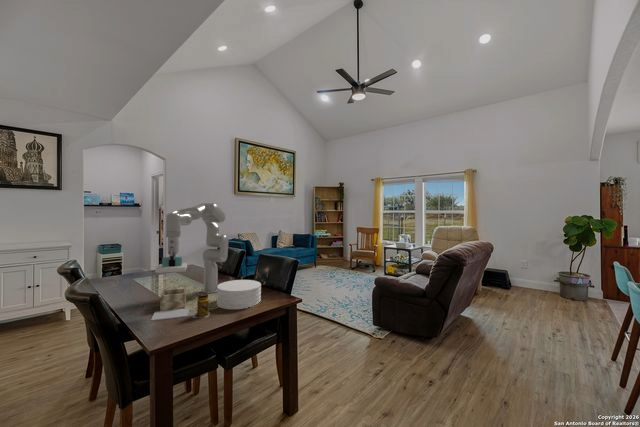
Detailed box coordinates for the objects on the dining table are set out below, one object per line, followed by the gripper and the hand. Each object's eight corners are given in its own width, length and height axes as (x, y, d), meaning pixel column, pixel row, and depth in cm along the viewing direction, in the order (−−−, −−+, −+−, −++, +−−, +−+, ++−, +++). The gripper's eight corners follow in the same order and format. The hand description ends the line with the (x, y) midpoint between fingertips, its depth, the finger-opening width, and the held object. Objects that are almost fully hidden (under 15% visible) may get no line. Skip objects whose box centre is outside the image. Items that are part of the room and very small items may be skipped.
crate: (185, 301, 179) (186, 288, 179) (184, 308, 167) (184, 293, 167) (163, 304, 174) (163, 290, 174) (160, 311, 162) (160, 295, 162)
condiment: (208, 317, 154) (208, 296, 154) (191, 318, 152) (192, 297, 152) (210, 312, 161) (210, 292, 161) (194, 313, 159) (195, 293, 159)
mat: (189, 309, 167) (189, 308, 167) (187, 316, 155) (187, 315, 155) (154, 312, 159) (154, 311, 159) (151, 321, 147) (151, 319, 147)
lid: (187, 266, 169) (187, 255, 169) (185, 271, 156) (185, 258, 156) (159, 267, 164) (159, 255, 164) (155, 272, 150) (155, 259, 150)
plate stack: (269, 302, 182) (269, 285, 182) (230, 313, 162) (231, 293, 162) (245, 293, 201) (246, 277, 201) (208, 302, 181) (209, 284, 180)
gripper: (178, 235, 154) (178, 268, 153) (181, 233, 169) (180, 263, 169) (163, 235, 151) (162, 268, 151) (167, 233, 166) (166, 263, 166)
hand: (172, 265), depth 160 cm, fingers closed on lid, 3 cm apart
